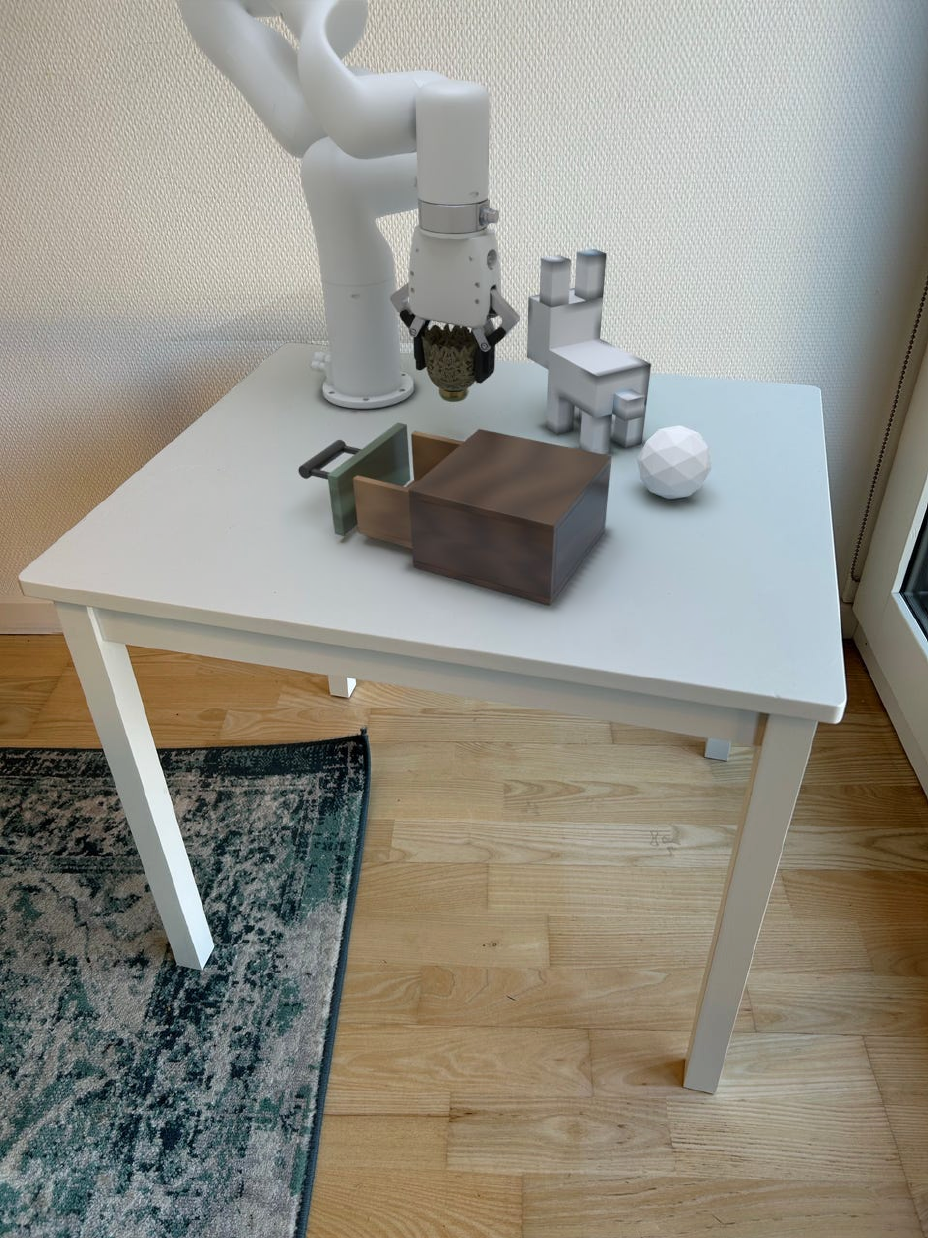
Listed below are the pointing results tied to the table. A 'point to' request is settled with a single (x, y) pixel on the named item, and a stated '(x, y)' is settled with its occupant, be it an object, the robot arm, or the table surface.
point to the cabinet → (510, 514)
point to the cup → (450, 360)
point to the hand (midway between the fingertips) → (453, 371)
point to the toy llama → (584, 356)
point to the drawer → (378, 481)
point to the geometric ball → (674, 462)
